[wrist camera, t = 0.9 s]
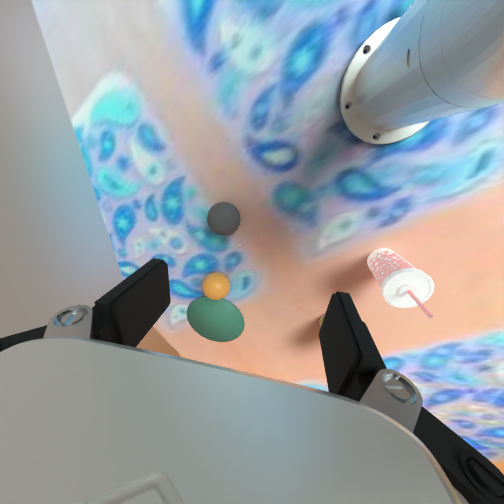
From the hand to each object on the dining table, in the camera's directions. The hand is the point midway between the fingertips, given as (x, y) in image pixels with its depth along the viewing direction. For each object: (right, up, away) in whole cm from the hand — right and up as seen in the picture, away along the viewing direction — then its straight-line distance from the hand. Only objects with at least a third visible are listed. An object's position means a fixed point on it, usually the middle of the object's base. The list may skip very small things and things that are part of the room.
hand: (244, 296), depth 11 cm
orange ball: (-7, -4, +29) cm, 30 cm away
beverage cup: (+23, +1, +24) cm, 34 cm away
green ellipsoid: (-8, -14, +37) cm, 40 cm away
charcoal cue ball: (-4, +8, +23) cm, 25 cm away
